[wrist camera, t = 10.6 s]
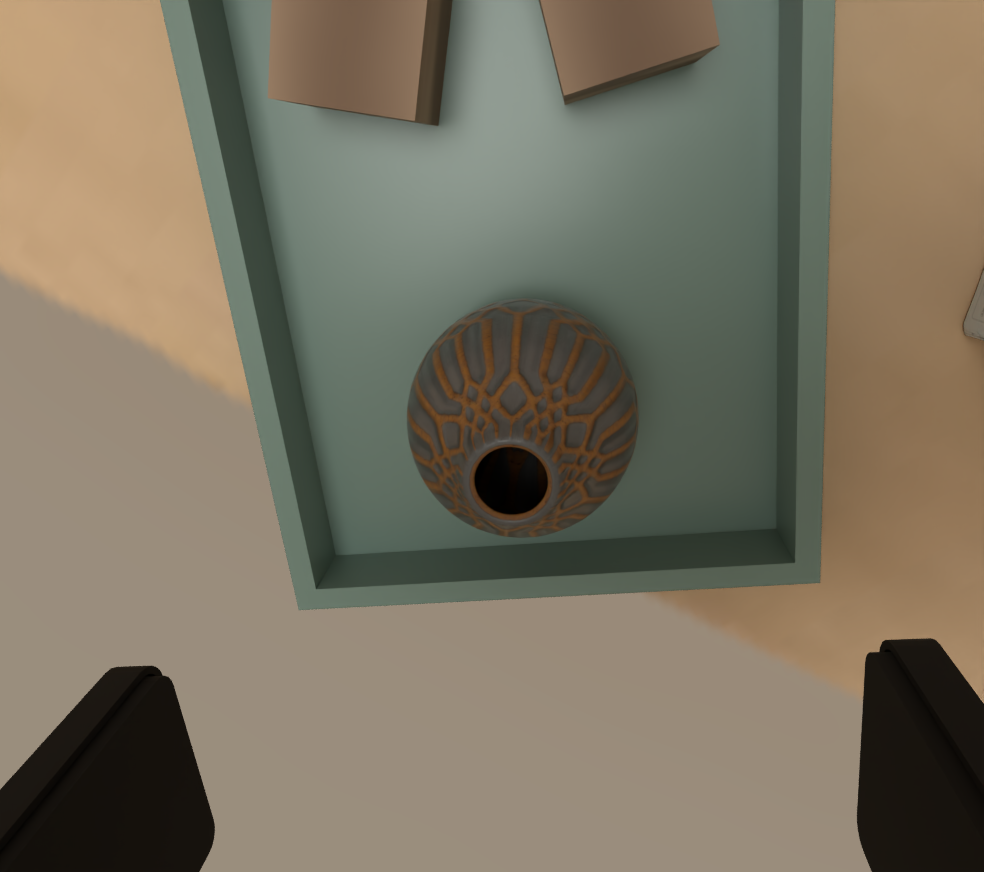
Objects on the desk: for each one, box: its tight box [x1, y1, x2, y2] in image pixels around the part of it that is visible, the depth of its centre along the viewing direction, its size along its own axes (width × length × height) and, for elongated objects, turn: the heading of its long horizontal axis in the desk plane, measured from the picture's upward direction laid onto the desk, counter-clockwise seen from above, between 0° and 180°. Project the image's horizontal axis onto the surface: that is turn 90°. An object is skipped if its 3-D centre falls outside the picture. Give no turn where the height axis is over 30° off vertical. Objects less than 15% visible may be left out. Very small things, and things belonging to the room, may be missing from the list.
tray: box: [160, 0, 835, 610], centre depth 25 cm, size 18×22×3 cm
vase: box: [407, 298, 639, 538], centre depth 23 cm, size 7×7×9 cm
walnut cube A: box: [539, 0, 720, 105], centre depth 21 cm, size 4×4×4 cm
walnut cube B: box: [268, 0, 453, 126], centre depth 22 cm, size 4×4×4 cm
